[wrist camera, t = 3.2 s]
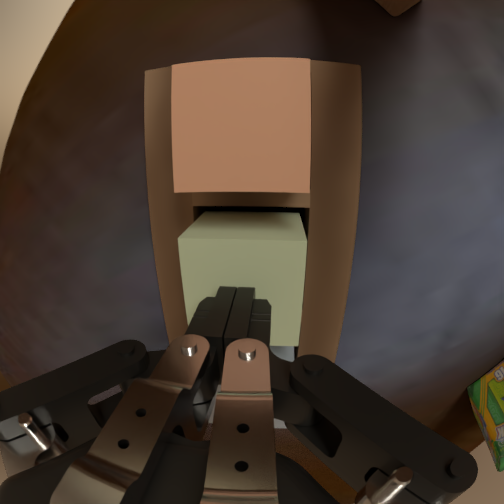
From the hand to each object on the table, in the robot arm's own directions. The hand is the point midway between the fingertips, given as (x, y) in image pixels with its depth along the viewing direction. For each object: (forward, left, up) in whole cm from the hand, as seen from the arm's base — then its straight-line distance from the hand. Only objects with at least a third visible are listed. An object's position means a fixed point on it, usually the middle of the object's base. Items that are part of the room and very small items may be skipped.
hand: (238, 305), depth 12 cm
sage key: (0, 0, -6) cm, 6 cm away
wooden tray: (0, 0, -8) cm, 8 cm away
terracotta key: (0, -8, -6) cm, 9 cm away
